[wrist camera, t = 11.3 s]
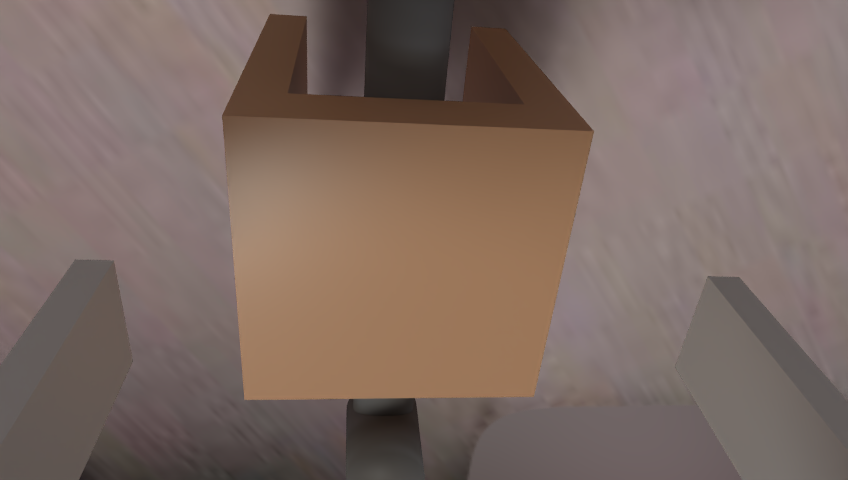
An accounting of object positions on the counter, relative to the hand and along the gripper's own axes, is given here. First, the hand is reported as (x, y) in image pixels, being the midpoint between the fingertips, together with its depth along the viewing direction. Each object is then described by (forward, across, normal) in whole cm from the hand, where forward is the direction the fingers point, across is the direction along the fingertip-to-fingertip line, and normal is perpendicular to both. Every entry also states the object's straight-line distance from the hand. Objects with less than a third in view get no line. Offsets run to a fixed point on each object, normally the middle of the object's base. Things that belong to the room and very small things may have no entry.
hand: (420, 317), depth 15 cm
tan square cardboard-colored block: (+11, 0, 0) cm, 11 cm away
